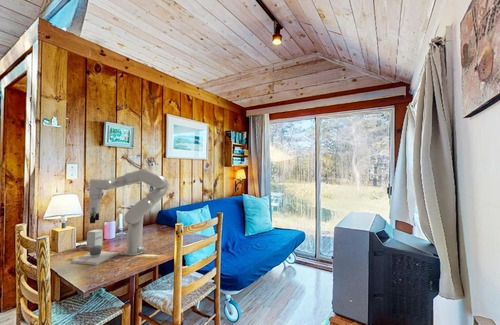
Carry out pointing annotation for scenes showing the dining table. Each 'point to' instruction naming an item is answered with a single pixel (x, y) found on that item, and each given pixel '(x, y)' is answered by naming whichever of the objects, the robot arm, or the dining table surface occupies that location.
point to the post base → (94, 258)
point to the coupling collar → (91, 249)
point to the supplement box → (94, 237)
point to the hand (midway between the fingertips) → (94, 221)
